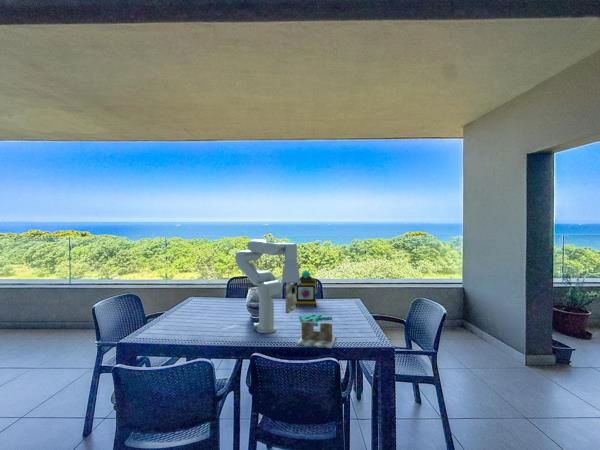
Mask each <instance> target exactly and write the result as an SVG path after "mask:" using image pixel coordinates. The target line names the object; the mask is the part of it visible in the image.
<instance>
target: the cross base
mask: <svg viewBox="0 0 600 450" xmlns="http://www.w3.org/2000/svg"><path fill="white" fill-rule="evenodd" d="M319 328H320V329H319V330H315V329H314V323H313V322H312V321H311V322H306V321H302V322H301V336H300V338H299V339H298V341H297V343H296V345H297V346H301V345H304V346H303V347H312V346H318V347H317V348H324V347H326V348H327V349H333V347H332V346H334V345H335V341H336V339H337V335H335V334H333V323H332V322H319ZM335 338H336V339H335Z"/></svg>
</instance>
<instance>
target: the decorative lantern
mask: <svg viewBox="0 0 600 450" xmlns="http://www.w3.org/2000/svg"><path fill="white" fill-rule="evenodd" d="M300 281H301V283H300V284H297V285H296V308H298V305H301V306H302V305H303V306H304V305H306V306H308V305H311V306H312V305H313V306H314V308H315V309H316V308H317V299H316V294H318V288H317V287H316V285H317V280H316V279H315V278H314V277H312V276H311V274H310V272H309V271H308V270H304V271H303V272H302V273H301V276H300ZM296 283H297V282H296Z"/></svg>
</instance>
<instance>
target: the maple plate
mask: <svg viewBox="0 0 600 450" xmlns="http://www.w3.org/2000/svg"><path fill="white" fill-rule="evenodd" d="M292 286H293V282H290V283H289V285H285V314H290V313H291V312H292V311H294V310H295V309H296V299H297V294H296V290H297V285H296V286H295V292H294V294H292Z"/></svg>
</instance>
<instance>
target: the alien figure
mask: <svg viewBox="0 0 600 450" xmlns="http://www.w3.org/2000/svg"><path fill="white" fill-rule="evenodd" d="M298 318H299V321H300V323H302V321H306V322H313V323H314V326H315V327H317V326H318V325H319V323H318V321H323V320H324V321H328V320H329V321H331V320H332V319H333V316H323V314H320V313H316V314H315V313H312V314H311V313H308V314H306V313H304V314H301V315H299V317H298Z"/></svg>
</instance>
